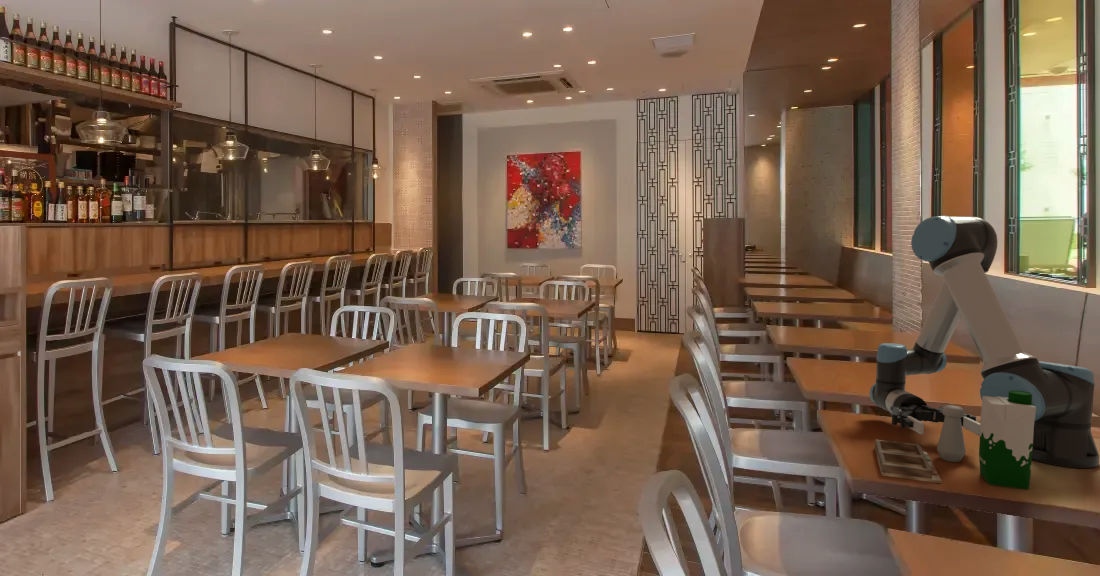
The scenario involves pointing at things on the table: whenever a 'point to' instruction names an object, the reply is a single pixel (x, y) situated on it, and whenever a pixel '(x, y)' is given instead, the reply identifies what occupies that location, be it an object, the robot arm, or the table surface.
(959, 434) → the salt shaker
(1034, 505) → the table surface
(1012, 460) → the milk carton
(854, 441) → the table surface
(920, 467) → the socket board
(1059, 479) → the table surface
